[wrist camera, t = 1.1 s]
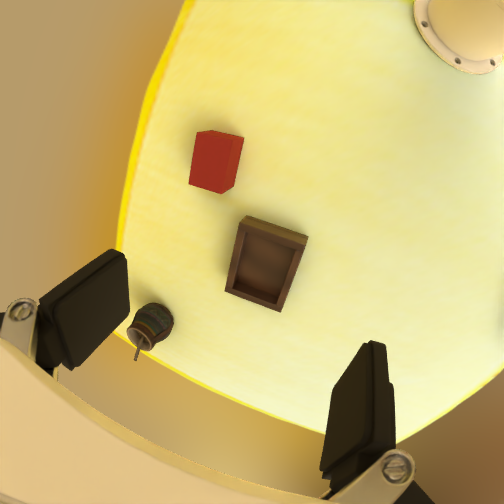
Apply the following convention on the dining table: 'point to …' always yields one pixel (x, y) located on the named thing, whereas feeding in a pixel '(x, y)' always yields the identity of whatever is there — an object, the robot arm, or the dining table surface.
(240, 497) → the robot arm
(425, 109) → the dining table surface
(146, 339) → the mate gourd
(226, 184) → the red block
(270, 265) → the brown shallow rectangular box
